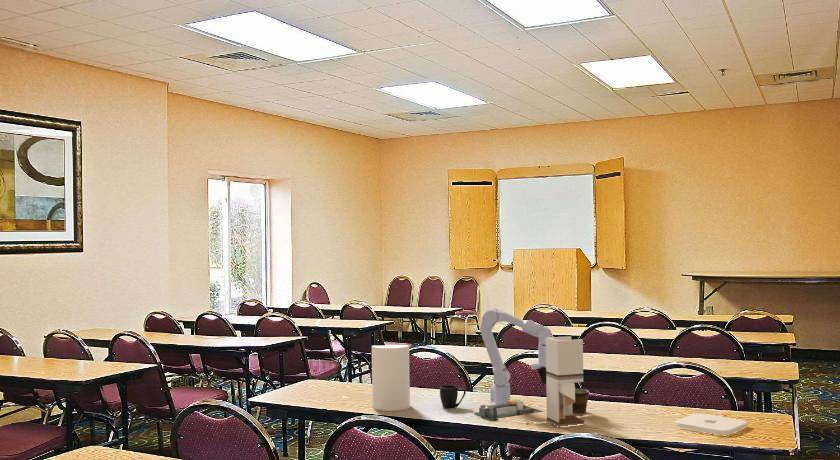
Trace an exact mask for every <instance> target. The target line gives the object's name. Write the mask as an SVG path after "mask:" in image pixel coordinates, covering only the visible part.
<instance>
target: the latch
mask: <svg viewBox="0 0 840 460" xmlns="http://www.w3.org/2000/svg"><path fill="white" fill-rule="evenodd" d="M507 403H509V404H515V405H516V412H518V410H521V409H523V405H524V401H523V400H520V399H510V400H507Z"/></svg>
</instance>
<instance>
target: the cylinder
mask: <svg viewBox="0 0 840 460" xmlns="http://www.w3.org/2000/svg"><path fill="white" fill-rule="evenodd" d="M410 378H411V376H410V345H407V344H405V345H404V344H402V345H401V344H400V345H396V344H395V345H394V344H393V345H371V379H372V380H371V387H372V389H371V393H372V395H371V398H372V399H371V402H372V408H373V409H374V410H378V411H386V412H387V411H388V412H389V411H390V412H393V411H401V410H403V411H404V410H405V409H406V408H407V409H409V408H410V405H411V397H410V396H411V394H410V393H411V391H410V390H411V388H410V387H411V381H410ZM408 407H409V408H408Z"/></svg>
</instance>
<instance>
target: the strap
mask: <svg viewBox="0 0 840 460" xmlns="http://www.w3.org/2000/svg"><path fill="white" fill-rule="evenodd" d="M509 406H516V405H515V404H504V405H496V406H488V407H487V406H486V407H485V406H483V408H486V409H487V410H488V408H493V410H494V409H495V408H502V407H509Z"/></svg>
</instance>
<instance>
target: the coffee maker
mask: <svg viewBox="0 0 840 460" xmlns="http://www.w3.org/2000/svg"><path fill="white" fill-rule="evenodd" d="M583 382H584V341H583V339H582V338H580V339H572V336H557V337H555V336H551V337H550V338H546V384H545V386H546V388H545V389H546V422H547V421H548V422H550V423H552V424H555V425H556V426H558V427H560V426H568V425H577V424H584V425H585V420H583V419H582V418H579V417H578V416H575V415H573V414H574V413H573V411H572V404H573V403H575V389H576V387H575V386H576V385H575V384H576V383H583ZM548 422H547V423H548ZM550 423H549V424H550ZM552 424H551V425H552ZM556 426H555V427H556ZM558 427H557V428H558Z"/></svg>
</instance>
